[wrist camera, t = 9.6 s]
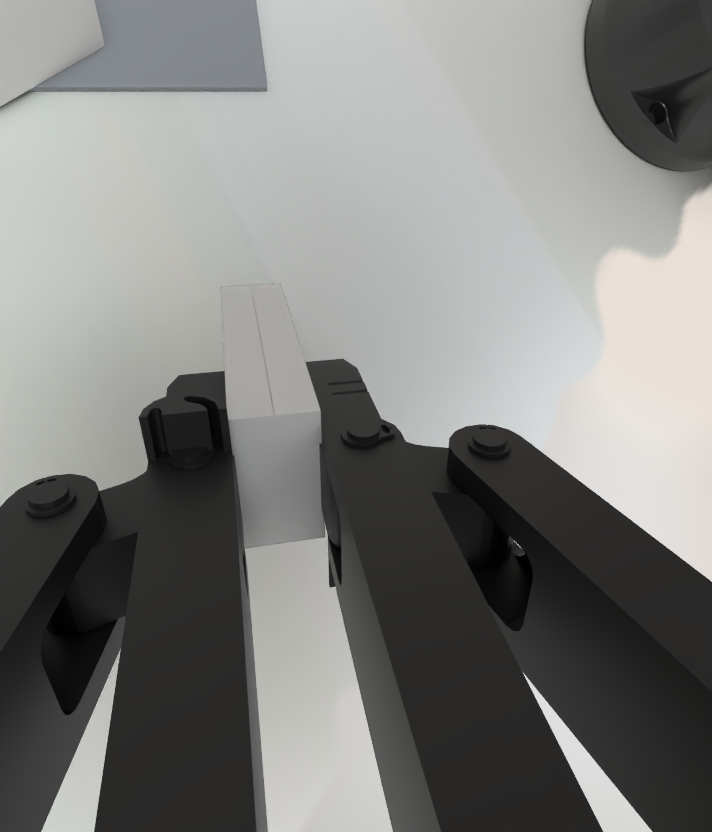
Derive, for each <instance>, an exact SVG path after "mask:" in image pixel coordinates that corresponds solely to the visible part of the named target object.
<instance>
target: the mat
mask: <svg viewBox="0 0 712 832" xmlns="http://www.w3.org/2000/svg"><path fill="white" fill-rule="evenodd" d="M94 1H95V5H96V10H97V14H98V18H99V22H100V27H101V31H102V35H103V39H104V46H103V47H102V48H101V49H99V50H97V51H96V52H94V53H92V54H91V55H89V56H87V57H85V58H84V59H82V60H80V61H78V62H77V63H75V64H73V65H72V66H70V67H68V68H66V69H65V70H63V71H61V72H59V73H58V74H56V75H54V76H52V77H51V78H49V79H47V80H45V81H44V82H42V83H40V84H38V85H37V86H35V87H33V88H31V89H30V90H28V91H267V81H266V73H265V66H264V58H263V51H262V43H261V36H260V29H259V21H258V14H257V6H256V0H94Z"/></svg>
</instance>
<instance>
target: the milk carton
mask: <svg viewBox="0 0 712 832" xmlns="http://www.w3.org/2000/svg"><path fill="white" fill-rule="evenodd" d="M103 46H104V39H103V35H102V31H101V27H100V22H99V18H98V14H97V10H96V5H95V1H94V0H0V106H2V105H4V104H5V103H7V102H9V101H11V100H12V99H14V98H16V97H18V96H19V95H21V94H23V93H25V92H26V91H28V90H30V89H31V88H33V87H35V86H37V85H38V84H40V83H42V82H44V81H45V80H47V79H49V78H51V77H52V76H54V75H56V74H58V73H59V72H61V71H63V70H65V69H66V68H68V67H70V66H72V65H73V64H75V63H77V62H78V61H80V60H82V59H84V58H85V57H87V56H89V55H91V54H92V53H94V52H96V51H97V50H99V49H101V48H102V47H103Z"/></svg>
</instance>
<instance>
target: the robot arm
mask: <svg viewBox="0 0 712 832" xmlns="http://www.w3.org/2000/svg"><path fill="white" fill-rule="evenodd" d="M586 60H587V68H588V73H589V78H590V82H591V86H592V89H593V92H594V95H595V97H596V100H597V102H598V105H599V107H600V109H601V111H602V113H603V115H604V117H605V118H606V120H607V122H608V123H609V125H610V126H611V128H612V129H613V131H614V132H615V133H616V134H617V136H618V137H619V138H620V139H621V140H622V141H623V142H624V143H625V144H626V145H627V146H628V147H629V148H630V149H631V150H632V151H634V152H635V153H636V154H637V155H639V156H640V157H642V158H643V159H645V160H647V161H648V162H650V163H653V164H655V165H657V166H660V167H663V168H666V169H670V170H676V171H693V170H699V169H703V168H707V167H709V166H712V0H593V3H592V6H591V9H590V13H589V17H588V22H587V30H586ZM221 306H222V327H223V347H224V368H225V371H221V372H210V373H199V374H187V375H179V376H178V377H177V378H176V379H175V380H174V381H173V382H172V383H171V384H170V385H169V386H168V388H167V395H166V397H164V398H161V399H159V400H156V401H154V402H153V403H151V404H150V405H148V406H147V407H146V408H144V409H143V411H142V413H141V414H140V416H139V421H140V425H141V430H142V435H143V439H144V444H145V449H146V453H147V458H148V467H147V471H146V472H145V473H144V474H142V475H140V476H139V477H137V478H135V479H133V480H131V481H129V482H126V483H123V484H121V485H118V486H115V487H112V488H108V489H105V490H102V491H99V489H98V487H97V485H96V482H94V481H93V480H91V479H89V478H88V477H86V476H81V475H74V474H65V475H54V476H50V477H46V478H42V479H39V480H36V481H34V482H32V483H30V484H28V485H26V486H24V487H22V488H20V489H19V490H17V491H16V492H15V493H14V494H13V495H12V496H10V497H9V498H8V499H7V500H6V501H5V502H4V503H3V505H2V506H1V507H0V832H41V830H42V828H43V826H44V823H45V821H46V819H47V816H48V814H49V812H50V810H51V807H52V805H53V803H54V800H55V798H56V796H57V793H58V791H59V789H60V786H61V784H62V782H63V780H64V777H65V775H66V773H67V770H68V768H69V766H70V763H71V761H72V759H73V757H74V754H75V752H76V750H77V747H78V745H79V743H80V740H81V738H82V736H83V733H84V731H85V729H86V727H87V724H88V722H89V720H90V717H91V715H92V713H93V710H94V708H95V706H96V704H97V701H98V699H99V697H100V694H101V692H102V690H103V687H104V685H105V683H106V680H107V678H108V676H109V674H110V671H111V669H112V667H113V664H114V662H115V660H116V657H117V655H118V653H119V651H120V648H121V652H120V659H119V666H118V673H117V680H116V687H115V694H114V700H113V707H112V714H111V721H110V728H109V735H108V742H107V748H106V755H105V762H104V769H103V776H102V783H101V789H100V796H99V803H98V810H97V817H96V824H95V831H94V832H268V829H267V816H266V804H265V791H264V778H263V765H262V752H261V740H260V727H259V714H258V701H257V688H256V676H255V663H254V650H253V637H252V624H251V612H250V599H249V586H248V573H247V564H246V556H245V548H251V547H258V546H265V545H272V544H279V543H286V542H293V541H300V540H307V539H314V538H321V537H325V525H326V529H327V533H328V556H329V587H335V586H336V591H337V595H338V599H339V603H340V608H341V612H342V616H343V620H344V625H345V629H346V633H347V637H348V642H349V646H350V650H351V654H352V659H353V663H354V667H355V671H356V676H357V680H358V684H359V688H360V692H361V697H362V701H363V705H364V710H365V714H366V718H367V722H368V727H369V731H370V735H371V740H372V744H373V748H374V752H375V757H376V761H377V765H378V769H379V774H380V777H381V782H382V786H383V791H384V795H385V799H386V803H387V808H388V812H389V816H390V820H391V825H392V829H393V832H603V831H602V829H601V826H600V825H599V823H598V821H597V819H596V817H595V815H594V813H593V811H592V809H591V807H590V805H589V803H588V801H587V799H586V797H585V795H584V793H583V791H582V789H581V787H580V785H579V783H578V781H577V779H576V777H575V775H574V773H573V771H572V769H571V767H570V765H569V763H568V761H567V759H566V757H565V756H564V753H563V752H562V749H561V748H560V746H559V744H558V742H557V740H556V738H555V736H554V734H553V732H552V730H551V728H550V726H549V724H548V722H547V720H546V718H545V716H544V714H543V712H542V710H541V708H540V706H539V704H538V702H537V700H536V698H535V696H534V694H533V692H532V690H531V688H530V686H529V684H528V682H527V680H526V679H525V676H524V674H525V675H526V676H527V678H528V679H529V680H530V681H531V682H532V684H533V685H534V686H535V687H536V689H537V690H538V691H539V692H540V694H541V695H542V696H543V697H544V698H545V700H546V701H547V702H548V703H549V705H550V706H551V707H552V708H553V709H554V711H555V712H556V713H557V715H558V716H559V717H560V718H561V719H562V721H563V722H564V723H565V724H566V726H567V727H568V728H569V729H570V731H571V732H572V733H573V734H574V735H575V737H576V738H577V739H578V740H579V742H580V743H581V744H582V745H583V747H584V748H585V749H586V750H587V751H588V753H589V754H590V755H591V756H592V758H593V759H594V760H595V761H596V762H597V764H598V765H599V766H600V767H601V769H602V770H603V771H604V772H605V774H606V775H607V776H608V777H609V778H610V780H611V781H612V782H613V783H614V785H615V786H616V787H617V788H618V790H619V791H620V792H621V793H622V794H623V796H624V797H625V798H626V799H627V801H628V802H629V803H630V804H631V806H632V807H633V808H634V809H635V811H636V812H637V813H638V814H639V815H640V817H641V818H642V819H643V820H644V822H645V823H646V824H647V825H648V827H649V828H650V829H651V830H652V831H653V832H712V582H711V581H710V580H709V579H707V578H706V577H705V576H703V575H702V574H701V573H699V572H698V571H697V570H695V569H694V568H693V567H692V566H690V565H689V564H688V563H686V562H685V561H683V560H682V559H681V558H680V557H678V556H677V555H676V554H675V553H673V552H672V551H671V550H669V549H668V548H666V547H665V546H664V545H663V544H661V543H660V542H659V541H657V540H656V539H655V538H654V537H652V536H651V535H650V534H648V533H647V532H646V531H644V530H643V529H642V528H640V527H639V526H638V525H636V524H635V523H634V522H633V521H631V520H630V519H628V518H627V517H626V516H625V515H623V514H622V513H621V512H619V511H618V510H617V509H615V508H614V507H613V506H612V505H610V504H609V503H608V502H606V501H605V500H604V499H602V498H601V497H600V496H598V495H597V494H596V493H594V492H593V491H592V490H590V489H589V488H588V487H586V486H585V485H584V484H583V483H581V482H580V481H579V480H577V479H576V478H575V477H573V476H572V475H571V474H569V473H568V472H567V471H566V470H564V469H563V468H561V467H560V466H559V465H558V464H556V463H555V462H554V461H552V460H551V459H550V458H549V457H547V456H546V455H545V454H543V453H542V452H541V451H539V450H538V449H537V448H535V447H534V446H533V445H532V444H530V443H529V442H528V441H526V440H525V439H524V438H522V437H521V436H519V435H517V434H516V433H514V432H512V431H510V430H508V429H504V428H501V427H497V426H494V425H474V426H467V427H464V428H462V429H459V430H457V431H455V432H454V434H453V435H452V436H451V437H450V439H449V448H441V447H429V446H421V445H415V444H411V443H408V442H406V441H405V439H404V437H403V435H402V434H401V432H400V431H399V430H398V429H397V428H396V426H395V425H393V424H391V423H389V422H387V421H385V420H382V419H381V418H380V415H379V413H378V411H377V409H376V407H375V405H374V403H373V401H372V399H371V397H370V394H369V392H367V388H366V386H365V384H364V382H363V380H362V378H361V376H360V373H359V371H358V369H357V368H356V367H354V366H353V365H351V364H350V363H348V362H347V361H345V360H344V359H336V360H324V361H313V362H305V359H304V356H303V353H302V350H301V347H300V344H299V340H298V337H297V334H296V331H295V328H294V325H293V321H292V318H291V315H290V312H289V309H288V306H287V302H286V299H285V296H284V293H283V290H282V287H281V283H273V284H258V285H242V286H227V287H221ZM324 521H325V525H324ZM514 541H515V542H516V543H517V544H519V546H520V547H521V548H522V549H521V548H520V547H519V546H518V545H517V544H516V543H515V542H514ZM522 671H523V672H522ZM523 673H524V674H523Z"/></svg>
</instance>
